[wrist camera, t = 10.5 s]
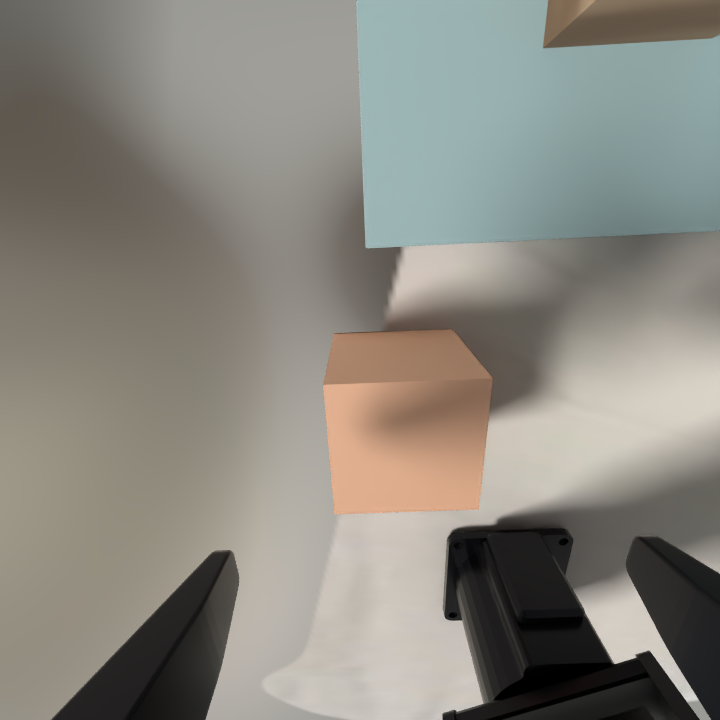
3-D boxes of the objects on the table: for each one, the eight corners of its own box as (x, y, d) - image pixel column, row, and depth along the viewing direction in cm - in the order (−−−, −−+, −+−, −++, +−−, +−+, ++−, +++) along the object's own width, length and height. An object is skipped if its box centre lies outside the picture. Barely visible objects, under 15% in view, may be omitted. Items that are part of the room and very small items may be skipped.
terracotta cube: (445, 429, 17) (478, 509, 12) (341, 433, 17) (334, 513, 12) (452, 328, 15) (492, 378, 11) (333, 333, 15) (323, 384, 11)
